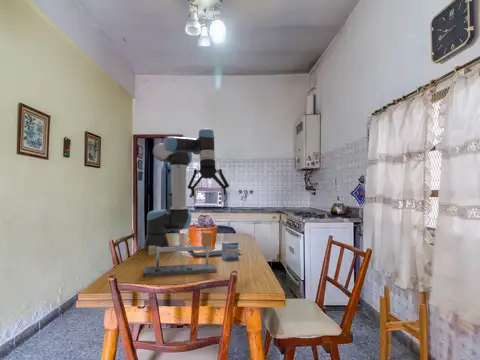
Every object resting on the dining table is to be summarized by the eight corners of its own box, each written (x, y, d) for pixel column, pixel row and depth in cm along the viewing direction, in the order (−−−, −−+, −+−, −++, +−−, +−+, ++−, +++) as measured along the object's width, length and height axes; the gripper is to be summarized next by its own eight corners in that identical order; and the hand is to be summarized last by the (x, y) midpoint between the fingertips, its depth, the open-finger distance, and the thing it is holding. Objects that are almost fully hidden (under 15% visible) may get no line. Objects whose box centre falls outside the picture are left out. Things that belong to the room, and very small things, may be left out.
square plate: (185, 248, 196) (185, 242, 196) (227, 246, 205) (227, 240, 206) (194, 258, 170) (194, 251, 171) (242, 255, 180) (242, 248, 180)
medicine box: (225, 260, 166) (226, 243, 166) (221, 258, 170) (221, 242, 170) (238, 258, 171) (238, 242, 171) (234, 256, 174) (234, 241, 174)
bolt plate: (143, 270, 145) (143, 266, 145) (212, 266, 154) (212, 262, 154) (143, 276, 136) (143, 272, 136) (216, 272, 144) (216, 268, 144)
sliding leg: (201, 263, 150) (201, 231, 150) (209, 262, 151) (209, 231, 151) (202, 266, 144) (203, 233, 144) (211, 265, 145) (212, 232, 145)
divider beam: (148, 266, 143) (148, 245, 143) (209, 263, 150) (210, 242, 150) (148, 269, 137) (148, 247, 138) (211, 266, 145) (212, 245, 145)
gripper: (182, 158, 151) (183, 202, 148) (233, 158, 157) (235, 200, 154) (181, 161, 158) (182, 204, 155) (230, 161, 164) (232, 202, 161)
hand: (209, 202), depth 154 cm, fingers open, 13 cm apart
